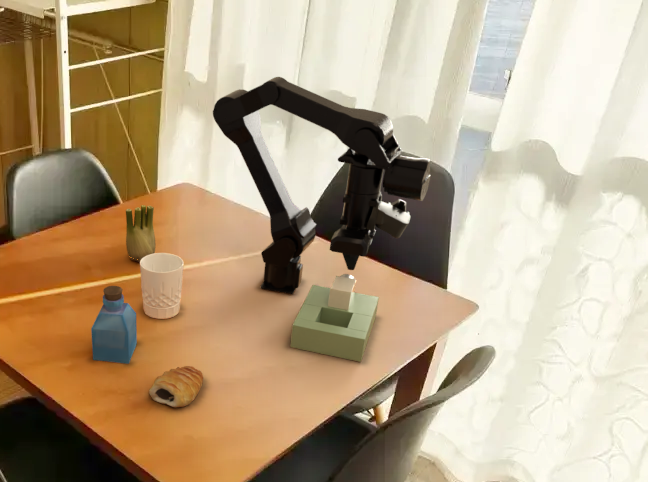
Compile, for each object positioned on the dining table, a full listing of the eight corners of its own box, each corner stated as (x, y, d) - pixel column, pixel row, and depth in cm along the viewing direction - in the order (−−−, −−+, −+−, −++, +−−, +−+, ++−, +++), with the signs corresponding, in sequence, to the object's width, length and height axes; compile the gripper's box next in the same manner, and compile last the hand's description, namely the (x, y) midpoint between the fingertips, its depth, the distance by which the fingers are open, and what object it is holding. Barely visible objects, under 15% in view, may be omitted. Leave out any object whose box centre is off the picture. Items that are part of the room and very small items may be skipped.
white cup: (189, 304, 141) (190, 257, 136) (172, 324, 135) (173, 275, 130) (151, 296, 144) (151, 249, 139) (133, 315, 138) (132, 267, 133)
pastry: (178, 370, 123) (178, 351, 121) (213, 384, 119) (215, 364, 117) (145, 399, 116) (145, 379, 114) (182, 414, 113) (183, 394, 111)
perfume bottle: (128, 363, 124) (127, 301, 118) (93, 359, 126) (89, 297, 119) (136, 343, 130) (135, 283, 123) (102, 340, 131) (99, 279, 124)
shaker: (348, 310, 130) (351, 292, 128) (327, 306, 131) (330, 288, 129) (355, 292, 135) (358, 275, 133) (335, 289, 136) (337, 271, 135)
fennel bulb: (125, 263, 156) (124, 210, 150) (130, 253, 160) (128, 200, 154) (153, 265, 155) (152, 211, 149) (156, 255, 159) (156, 202, 153)
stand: (290, 347, 128) (292, 324, 126) (310, 305, 140) (312, 284, 138) (360, 362, 124) (364, 339, 122) (375, 318, 136) (379, 296, 134)
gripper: (404, 215, 119) (389, 300, 128) (417, 177, 134) (402, 255, 142) (334, 205, 123) (324, 288, 131) (354, 169, 138) (343, 246, 146)
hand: (351, 269), depth 138 cm, fingers closed
